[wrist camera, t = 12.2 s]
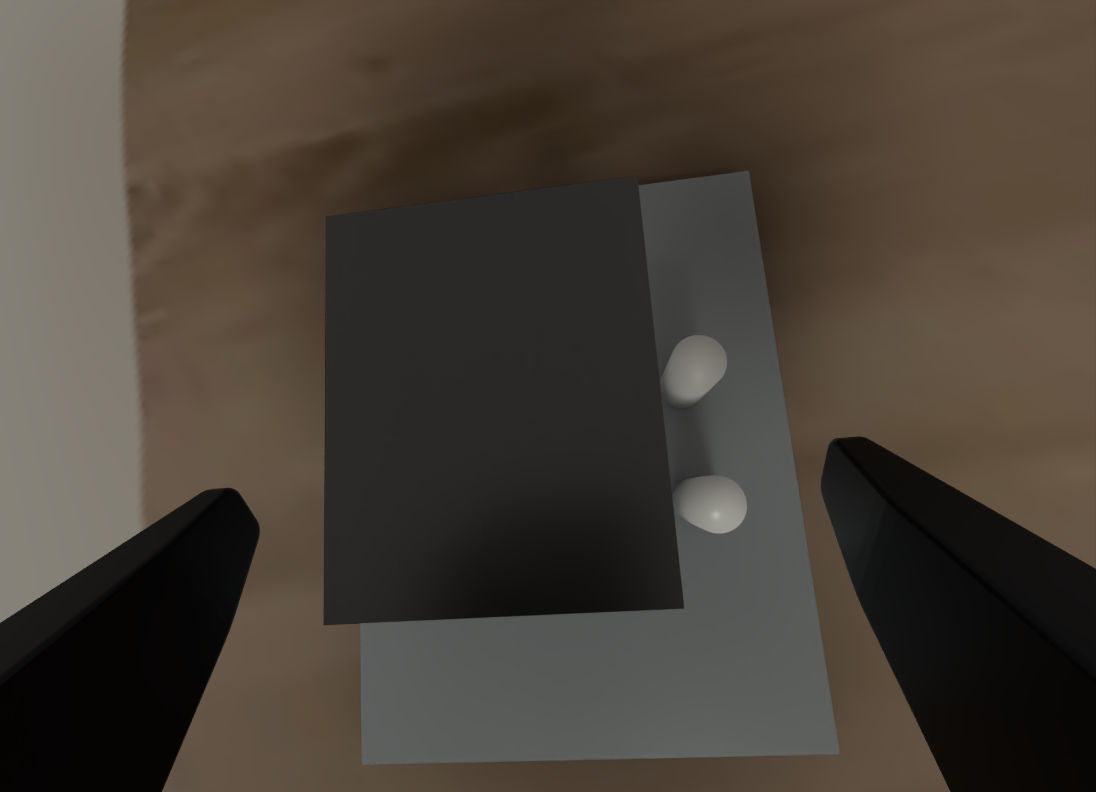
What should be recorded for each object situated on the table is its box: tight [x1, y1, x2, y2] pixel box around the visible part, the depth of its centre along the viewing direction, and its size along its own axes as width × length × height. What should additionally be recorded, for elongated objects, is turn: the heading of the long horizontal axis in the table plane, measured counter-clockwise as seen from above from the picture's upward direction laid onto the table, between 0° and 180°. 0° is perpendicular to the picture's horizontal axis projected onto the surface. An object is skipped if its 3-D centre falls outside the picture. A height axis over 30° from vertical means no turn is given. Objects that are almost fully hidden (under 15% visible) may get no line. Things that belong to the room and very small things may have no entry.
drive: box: [324, 176, 684, 625], centre depth 12 cm, size 5×4×11 cm
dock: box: [360, 171, 840, 765], centre depth 16 cm, size 18×14×5 cm
